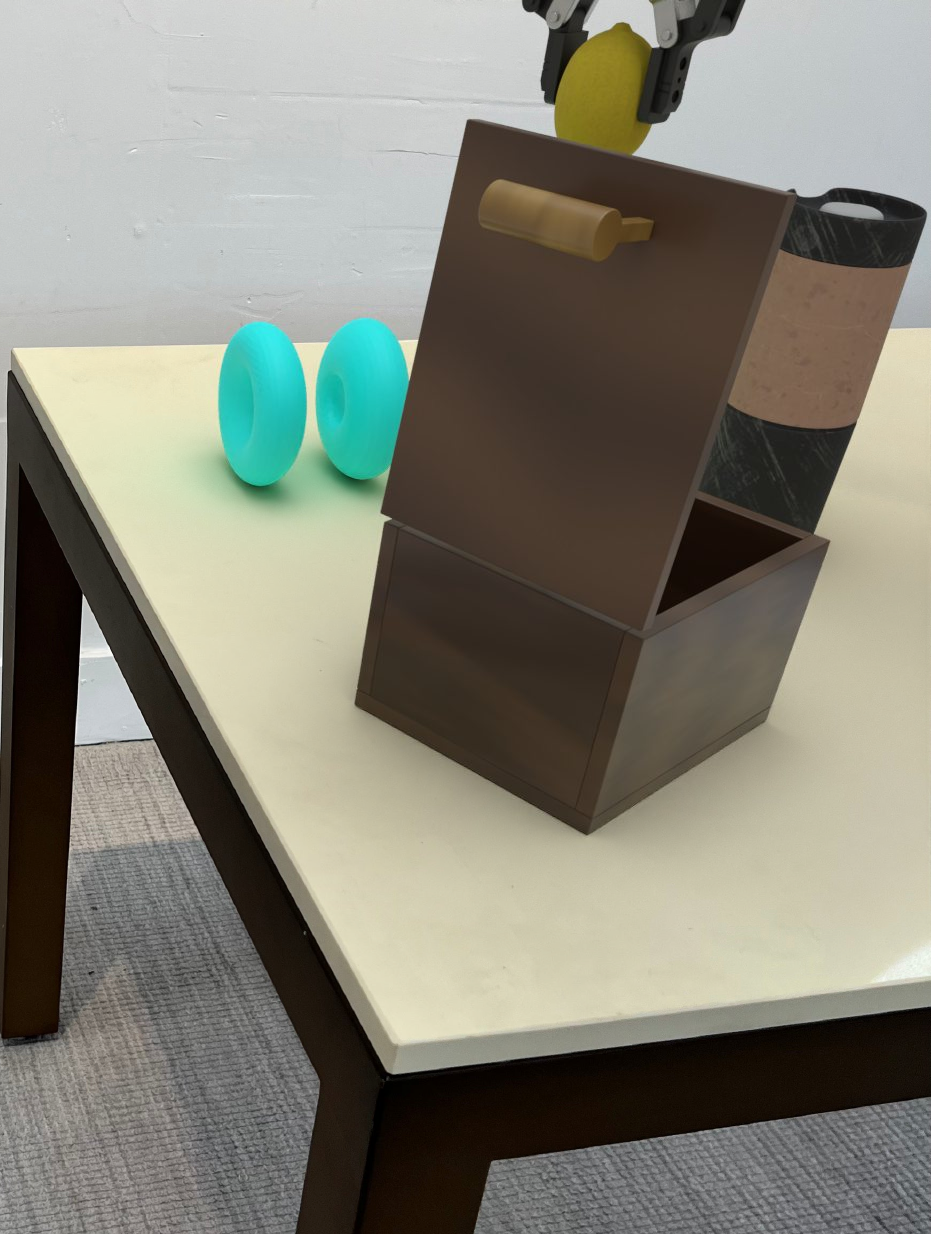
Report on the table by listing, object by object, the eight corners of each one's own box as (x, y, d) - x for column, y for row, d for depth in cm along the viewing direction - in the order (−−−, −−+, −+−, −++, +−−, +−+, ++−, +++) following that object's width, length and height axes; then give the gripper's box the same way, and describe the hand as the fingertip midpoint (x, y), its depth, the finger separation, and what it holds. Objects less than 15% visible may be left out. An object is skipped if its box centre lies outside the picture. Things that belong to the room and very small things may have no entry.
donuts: (206, 451, 99) (219, 301, 94) (345, 443, 102) (366, 296, 96) (254, 513, 92) (270, 354, 86) (402, 503, 94) (429, 347, 88)
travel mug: (800, 578, 88) (923, 229, 76) (671, 545, 91) (770, 204, 79) (819, 532, 93) (937, 200, 82) (697, 502, 96) (793, 178, 84)
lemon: (550, 163, 88) (579, 11, 83) (646, 174, 86) (681, 20, 81) (533, 181, 84) (563, 23, 79) (633, 194, 82) (669, 33, 77)
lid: (478, 118, 59) (400, 118, 56) (799, 193, 51) (727, 198, 48) (390, 510, 68) (318, 529, 65) (651, 628, 60) (583, 655, 57)
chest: (540, 614, 82) (581, 445, 77) (766, 720, 74) (831, 540, 69) (353, 704, 74) (383, 521, 68) (587, 835, 66) (643, 640, 60)
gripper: (855, -251, 71) (755, 129, 81) (601, -258, 79) (538, 86, 89) (775, -258, 67) (679, 144, 76) (516, -264, 75) (460, 97, 85)
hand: (604, 111), depth 83 cm, fingers closed on lemon, 5 cm apart
